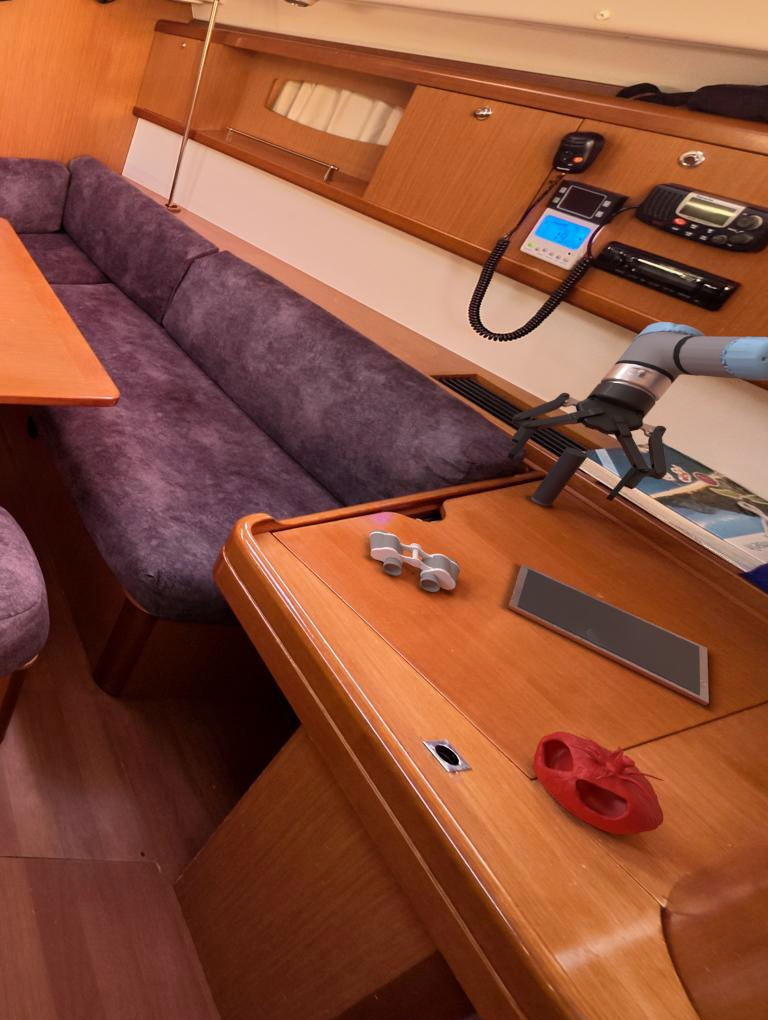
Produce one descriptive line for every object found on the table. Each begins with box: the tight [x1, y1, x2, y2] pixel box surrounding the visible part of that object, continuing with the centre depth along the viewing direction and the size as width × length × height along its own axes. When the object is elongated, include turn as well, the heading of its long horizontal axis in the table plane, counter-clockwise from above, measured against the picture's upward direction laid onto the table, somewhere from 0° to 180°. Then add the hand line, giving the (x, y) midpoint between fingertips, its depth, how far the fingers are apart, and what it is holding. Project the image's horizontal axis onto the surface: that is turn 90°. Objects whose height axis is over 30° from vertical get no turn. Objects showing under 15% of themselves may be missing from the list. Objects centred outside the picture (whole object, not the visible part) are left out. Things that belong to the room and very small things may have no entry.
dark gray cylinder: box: [531, 447, 589, 507], centre depth 121 cm, size 3×3×13 cm
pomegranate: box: [532, 730, 665, 835], centre depth 74 cm, size 10×10×9 cm
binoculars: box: [368, 529, 461, 593], centre depth 107 cm, size 12×8×4 cm, turn 47°
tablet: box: [507, 563, 710, 707], centre depth 98 cm, size 20×14×1 cm
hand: (558, 476), depth 121 cm, fingers open, 13 cm apart
